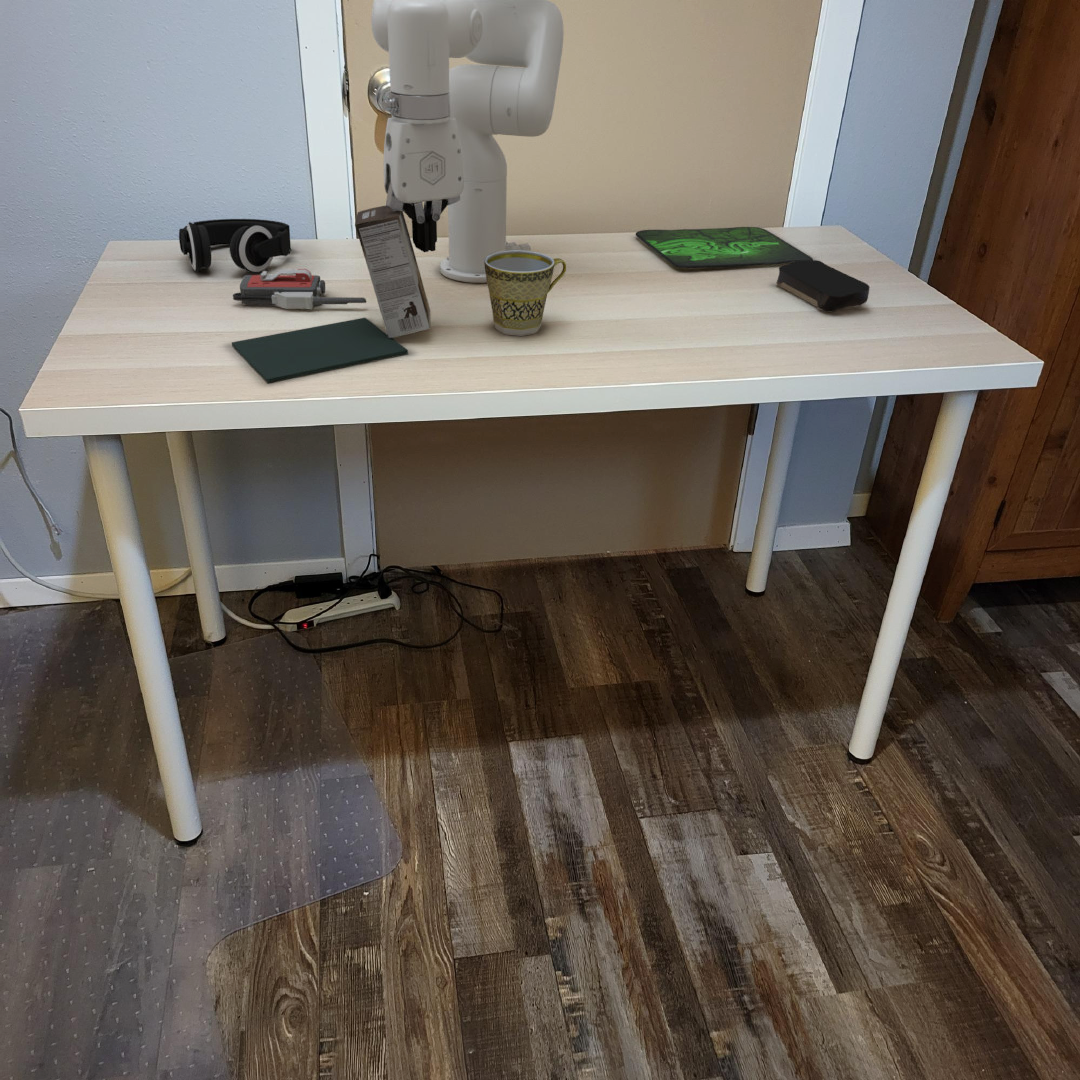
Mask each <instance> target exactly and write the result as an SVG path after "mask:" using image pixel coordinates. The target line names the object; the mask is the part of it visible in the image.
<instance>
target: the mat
mask: <svg viewBox="0 0 1080 1080" xmlns="http://www.w3.org/2000/svg"><path fill="white" fill-rule="evenodd" d="M231 347H232V348H233V349H234V350H235V351H236V352H237V353H238V354H239V355H240V356H241V357H242V358H243V360H245V362H246V363H247V364H249V365H250V367H252V369H253V370H254V371H255V372H256V373H257V374H258V375H259V376H260V377H261V378H262V379H263V381H265V382H266V383H267V384H271V383H276V382H281V381H286V380H290V379H295V378H299V377H305V376H310V375H314V374H319V373H324V372H328V371H335V370H339V369H343V368H348V367H352V366H357V365H361V364H367V363H370V362H372V363H373V362H376V361H381V360H386V359H390V358H395V357H401V356H405V355H409V349H407V348H406V347H404V346H403V345H402V344H401V343H399V342H398V341H397V340H396V339H395V338H394V337H393V338H389V337H388V334H387V332H385V331H383V329H381V328H380V327H378V326H377V325H375V323H373V322H372V321H370V320H369V319H368V318H367V317H360V318H355V319H350V320H346V321H345V320H344V321H338V322H333V323H328V324H324V325H319V326H312V327H307V328H306V327H305V328H301V329H296V330H291V331H290V330H289V331H286V332H285V331H284V332H280V333H274V334H269V335H263V336H258V337H254V338H248V339H242V340H236V341H232V342H231Z"/></svg>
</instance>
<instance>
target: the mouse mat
mask: <svg viewBox="0 0 1080 1080" xmlns="http://www.w3.org/2000/svg"><path fill="white" fill-rule="evenodd" d="M635 236H636V238H638V239H639V240H640V241H641V242H643V244H645V245H647V246H648V247H649V248H650V249H651V250H653V251H654V252H655V253H657V254H658V255H659V256H661V257H662V258H663V259H664V260H666V261H667V262H668V263H669V264H671V265H672V266H673V267H676V268H680V269H711V268H730V267H731V268H732V267H751V266H753V267H754V266H768V265H769V266H771V265H772V266H773V265H782V264H791V263H793V262H797V261H805V260H814V259H813V258H812V257H811V255H808V254H807V253H805V252H803V251H801V250H800V249H799V248H797V247H795V246H794V245H792V244H790V243H789V242H787V241H785V240H783V239H782V238H780V237H779V236H777V235H775V234H773V232H771V231H769V230H767V229H765V228H762V227H758V226H757V227H756V226H735V227H724V228H722V227H721V228H719V227H718V228H693V229H692V228H691V229H690V228H689V229H687V228H682V229H644V230H642V229H641V230H638V231H636V232H635Z"/></svg>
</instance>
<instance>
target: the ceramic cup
mask: <svg viewBox="0 0 1080 1080" xmlns="http://www.w3.org/2000/svg"><path fill="white" fill-rule="evenodd" d="M484 264H485V273H486V279H487V282H486V285H487V289H488V293H489V300H490V301H489V302H490V305H491V312H492V317H493V318H492V319H493V324H494V329H495V330H497V331H498V332H500V333H501V334H503V335H508V336H515V337H516V336H517V337H524V336H529V335H534V334H537V333H538V331H539V330H540V328H541V327H542V323H543V318H544V313H545V312H544V311H545V307H546V302H547V299H548V294H549V293H550V292H551V291H552V289H553V288H554V286H555V285H556V284H557V283H558V282H559V281H560V280H561V279H562V278H563V277H564V276H565V274H566V271H567V263H566V261H565V260H564V259H562V258H557V257H555V258H552V257H551V256H549V255H547V254H544V253H541V252H537V251H533V250H531V251H523V250H510V251H501V252H496V253H493V254H491V255H488V256H487V257H486V258H485V260H484ZM559 264H562V269H561V272H560V274H558V276H556V277H555V278H554V280H553V281H552V279H553V276H554V270H555V266H556V265H559Z"/></svg>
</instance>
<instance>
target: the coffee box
mask: <svg viewBox="0 0 1080 1080" xmlns="http://www.w3.org/2000/svg"><path fill="white" fill-rule="evenodd" d="M404 214H405V213H404V212H403V211H396V210H391V209H390V208H388V207H387V206H386V205H382V206H377V207H372V208H368V209H364V210H360V211H358V212H357V214H356V218H355V222H354V227H355V230H356V233H357V236H358V240H359V243H360V247H361V250H362V254H363V257H364V260H365V263H366V266H367V270H368V273H369V277H370V280H371V284H372V287H373V290H374V294H375V298H376V300H377V305H378V308H379V311H380V314H381V318H382V320H383V324H384V327H385V331H386V334H387V335H388V337H389V338H393V339H394V338H397V337H401V336H402V337H403V336H406V335H409V334H413V333H418V332H423V331H427V330H430V329H431V328H432V325H431V323H432V322H431V308H430V304H429V300H428V296H427V294H426V290H425V287H424V282H423V279H422V275H421V271H420V268H419V264H418V261H417V258H416V253H415V249H414V247H413V242H412V240H411V236H410V233H409V229H408V225H407V221H406V218H405V215H404Z"/></svg>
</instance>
